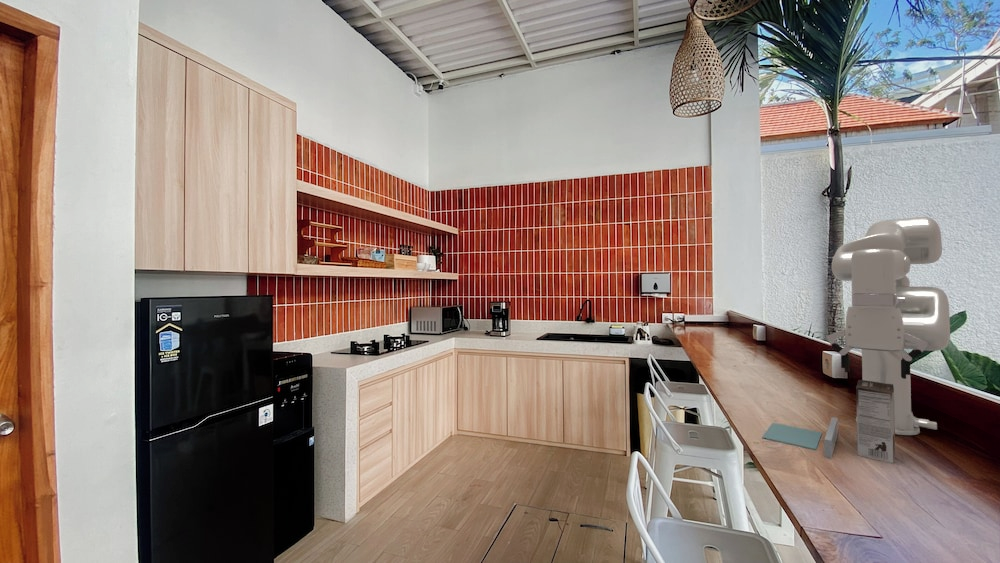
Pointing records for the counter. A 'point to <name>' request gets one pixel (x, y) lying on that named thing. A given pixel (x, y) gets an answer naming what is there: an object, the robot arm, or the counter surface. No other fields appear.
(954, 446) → the counter surface
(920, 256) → the robot arm
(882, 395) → the coffee box
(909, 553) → the counter surface
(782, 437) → the mat
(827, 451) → the low wall
